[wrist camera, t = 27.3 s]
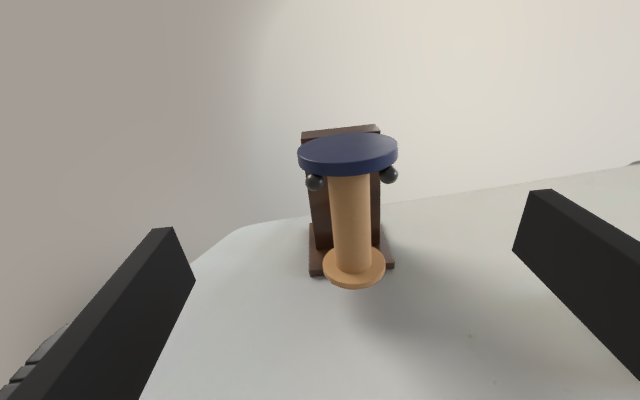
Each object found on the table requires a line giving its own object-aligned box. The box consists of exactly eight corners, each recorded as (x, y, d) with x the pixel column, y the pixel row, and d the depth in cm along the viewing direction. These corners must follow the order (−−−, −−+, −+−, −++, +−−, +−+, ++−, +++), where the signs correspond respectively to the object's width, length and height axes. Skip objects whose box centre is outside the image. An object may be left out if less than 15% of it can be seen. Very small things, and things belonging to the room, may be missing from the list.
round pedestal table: (299, 282, 30) (276, 158, 24) (335, 237, 37) (325, 130, 31) (379, 309, 26) (379, 167, 20) (403, 252, 33) (408, 133, 27)
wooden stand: (409, 308, 30) (421, 163, 22) (309, 318, 31) (284, 178, 23) (377, 221, 46) (376, 115, 37) (310, 228, 46) (295, 124, 38)
